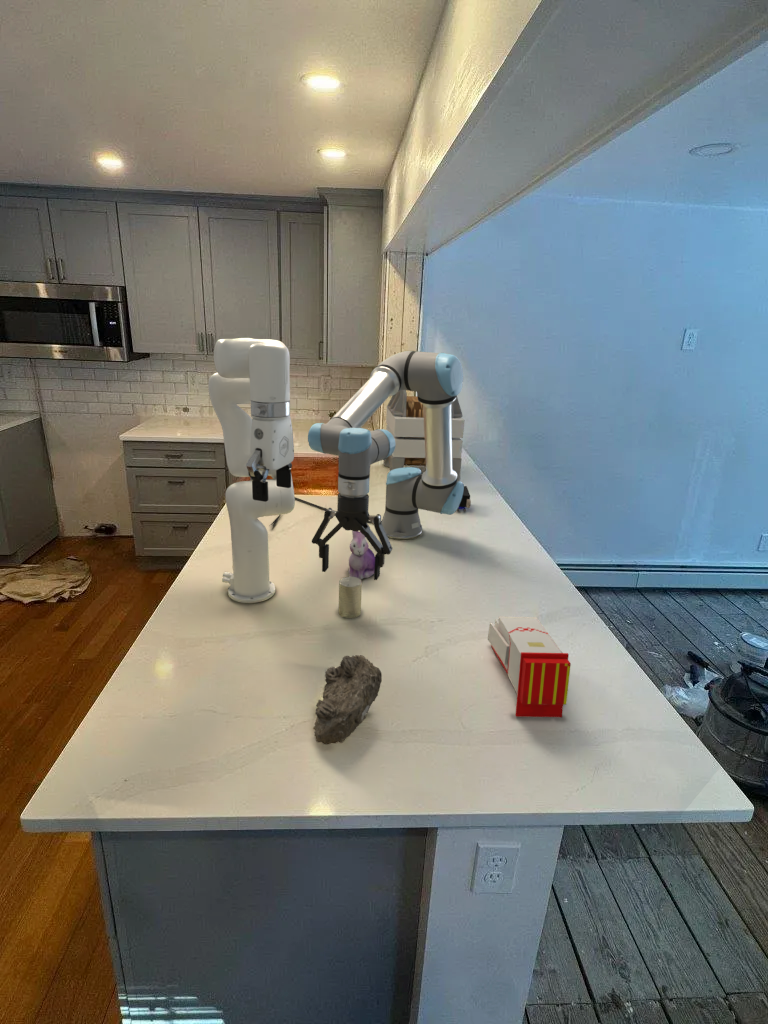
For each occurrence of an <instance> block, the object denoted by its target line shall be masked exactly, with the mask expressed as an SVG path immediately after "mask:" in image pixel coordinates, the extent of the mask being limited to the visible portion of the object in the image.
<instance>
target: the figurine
mask: <svg viewBox="0 0 768 1024" xmlns="http://www.w3.org/2000/svg"><path fill="white" fill-rule="evenodd" d="M351 534H352V539H351V541H350V543H349V551H350V552H351V553H350V555H349V558H348V567H349V568H348V571H347V572H348V574H349V576H348V577H356V578H359V579H360V580H363V579H368V578H370V577H372V576H374V569H375V555H376V554H375V553H374V552H373V550H372V549H371V548H369V547H370V545H369V542H368V540H367V538H366V537H365V536H364V535H363V534H362V533H361V532H360V531H357V532H355V531H352V530H351Z"/></svg>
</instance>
